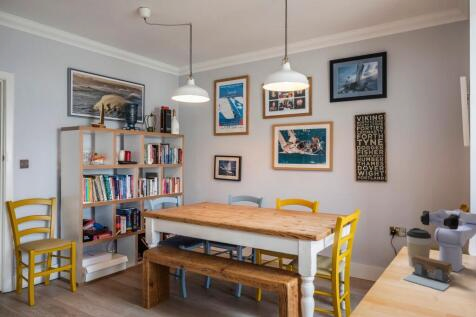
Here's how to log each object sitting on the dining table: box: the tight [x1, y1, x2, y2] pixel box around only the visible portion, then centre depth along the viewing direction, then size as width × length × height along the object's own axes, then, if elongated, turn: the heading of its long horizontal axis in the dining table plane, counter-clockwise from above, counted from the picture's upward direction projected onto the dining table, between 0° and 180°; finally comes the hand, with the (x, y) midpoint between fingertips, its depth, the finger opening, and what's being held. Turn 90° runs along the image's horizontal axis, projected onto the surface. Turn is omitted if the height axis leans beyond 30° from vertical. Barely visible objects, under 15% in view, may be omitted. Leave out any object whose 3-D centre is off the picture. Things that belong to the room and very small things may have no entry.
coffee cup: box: [406, 227, 432, 269], centre depth 136 cm, size 9×9×15 cm
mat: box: [403, 273, 451, 292], centre depth 118 cm, size 7×13×1 cm, turn 41°
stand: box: [411, 263, 451, 284], centre depth 124 cm, size 6×11×4 cm, turn 41°
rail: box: [412, 255, 453, 276], centre depth 124 cm, size 3×13×3 cm, turn 41°
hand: (433, 220), depth 121 cm, fingers open, 7 cm apart
